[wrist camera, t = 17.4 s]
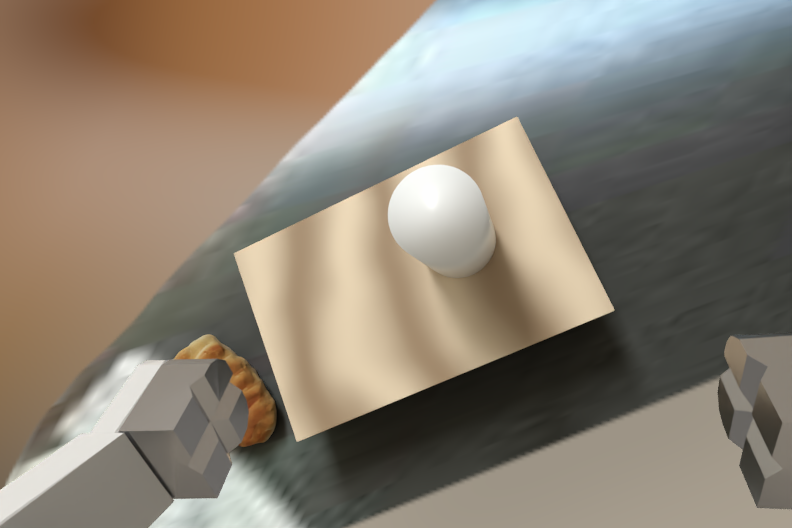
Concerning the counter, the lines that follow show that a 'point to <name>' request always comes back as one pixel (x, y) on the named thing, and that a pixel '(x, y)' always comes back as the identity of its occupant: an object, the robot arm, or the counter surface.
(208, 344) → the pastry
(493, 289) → the wooden board
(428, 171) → the white rounded block
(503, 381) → the counter surface
